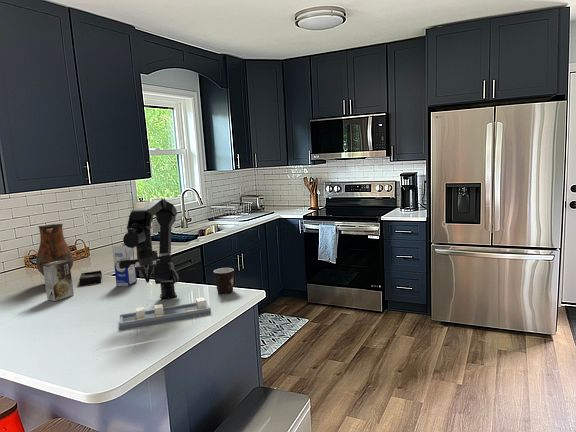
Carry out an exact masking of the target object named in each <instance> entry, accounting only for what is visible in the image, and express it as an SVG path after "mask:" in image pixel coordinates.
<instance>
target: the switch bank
mask: <svg viewBox="0 0 576 432" xmlns="http://www.w3.org/2000/svg"><path fill="white" fill-rule="evenodd" d="M205 301H206V308H202V309H198V308H197V305H196V301H195V302H189V303H181V304H178V305H176V304H175V305H171V306H170V305H169V306H163V312H164V315H159V316H155V311H154V308H153V309H147V310H146V309H145V318H141V319H137V318H136V311H134V312H133V311H132V312H126V313H120V314H119V321H118V322H119V323H118V325H119V330H121V331H122V330H126V329H131V328H136V327H138V328H139V327H143V326H149V325H153V324H159V323H160V324H161V323H166V322H172V321H177V320H183V319H188V318H194V316H195V317H200V316H199V315H201V316H204V314H206V315H210V313H211V314H212V312H211V311H212V309H211V307H210V305H209V304H208V302H207V300H205Z"/></svg>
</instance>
